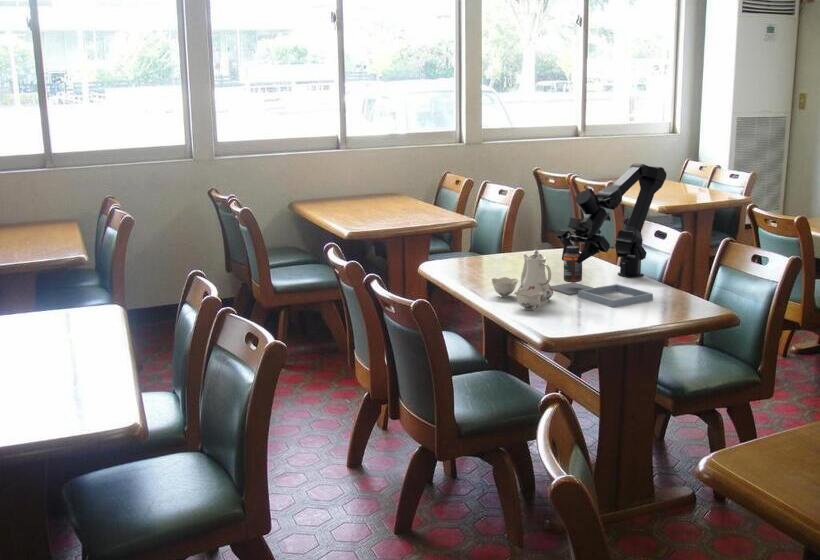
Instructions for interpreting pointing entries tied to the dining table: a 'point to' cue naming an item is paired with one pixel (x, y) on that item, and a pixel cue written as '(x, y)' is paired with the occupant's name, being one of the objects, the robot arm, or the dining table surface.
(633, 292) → the bin
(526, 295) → the chinaware
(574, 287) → the mat
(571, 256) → the supplement bottle
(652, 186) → the robot arm
